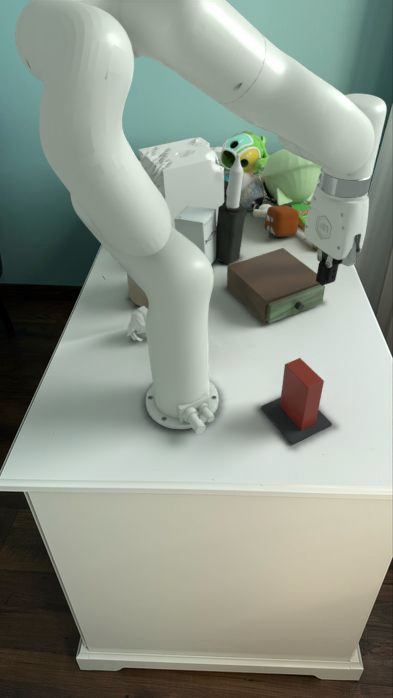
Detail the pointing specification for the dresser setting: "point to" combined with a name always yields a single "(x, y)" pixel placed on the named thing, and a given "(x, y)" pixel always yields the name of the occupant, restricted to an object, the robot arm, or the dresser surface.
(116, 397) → the dresser surface
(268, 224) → the toy
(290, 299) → the drawer
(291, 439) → the pad
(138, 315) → the figurine
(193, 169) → the tissue box
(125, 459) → the dresser surface
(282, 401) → the book
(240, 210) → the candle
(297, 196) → the toy
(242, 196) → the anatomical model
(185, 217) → the white packaging box
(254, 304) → the cabinet
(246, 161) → the turtle holder
